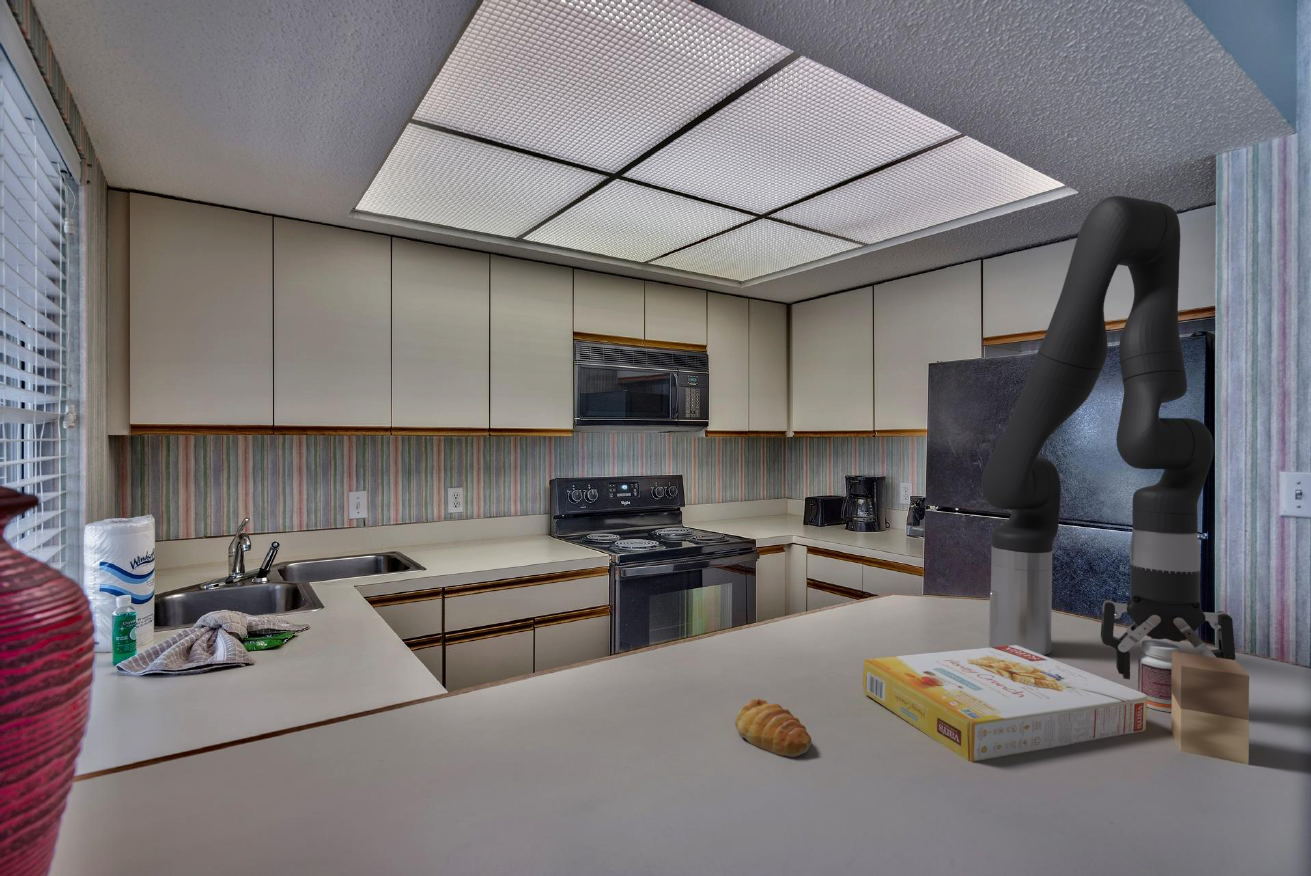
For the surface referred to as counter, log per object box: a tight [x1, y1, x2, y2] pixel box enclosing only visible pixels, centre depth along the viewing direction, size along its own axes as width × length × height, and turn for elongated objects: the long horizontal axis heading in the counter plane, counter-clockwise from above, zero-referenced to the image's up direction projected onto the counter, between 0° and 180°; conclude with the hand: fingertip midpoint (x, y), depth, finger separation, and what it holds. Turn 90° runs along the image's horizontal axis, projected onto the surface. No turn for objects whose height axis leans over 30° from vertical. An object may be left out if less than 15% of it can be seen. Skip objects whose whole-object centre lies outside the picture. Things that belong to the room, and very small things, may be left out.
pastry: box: [734, 698, 812, 758], centre depth 77 cm, size 9×7×4 cm
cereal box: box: [862, 645, 1148, 763], centre depth 86 cm, size 20×6×28 cm
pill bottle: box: [1137, 639, 1180, 713], centre depth 89 cm, size 5×5×8 cm
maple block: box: [1170, 694, 1250, 766], centre depth 77 cm, size 6×6×5 cm
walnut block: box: [1171, 651, 1250, 721], centre depth 77 cm, size 6×6×5 cm
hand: (1164, 683), depth 89 cm, fingers open, 8 cm apart
